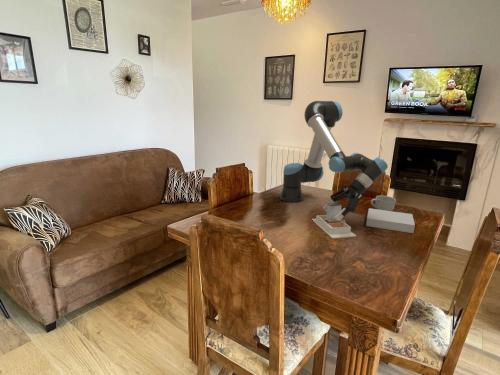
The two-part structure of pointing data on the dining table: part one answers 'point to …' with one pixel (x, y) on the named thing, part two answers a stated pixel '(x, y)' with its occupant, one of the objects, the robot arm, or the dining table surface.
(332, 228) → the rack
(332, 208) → the panel
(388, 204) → the teacup
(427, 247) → the dining table surface
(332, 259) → the dining table surface
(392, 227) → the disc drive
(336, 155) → the robot arm
